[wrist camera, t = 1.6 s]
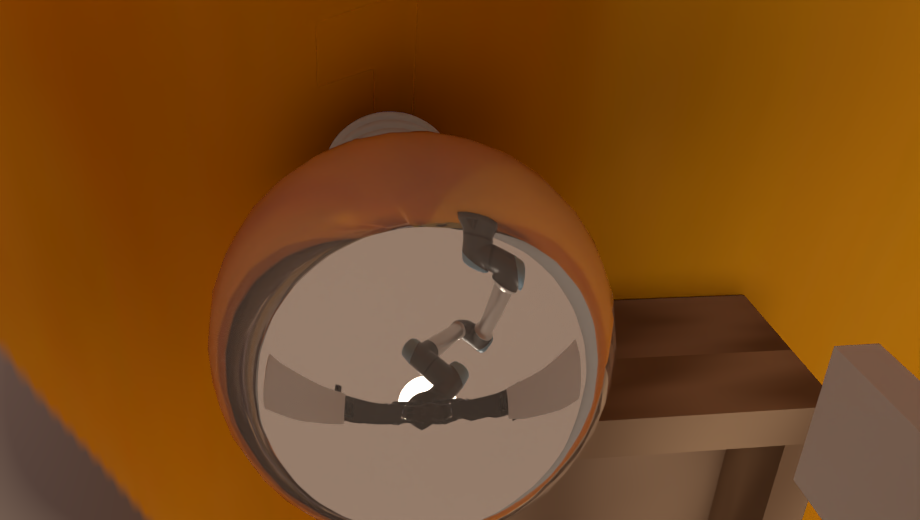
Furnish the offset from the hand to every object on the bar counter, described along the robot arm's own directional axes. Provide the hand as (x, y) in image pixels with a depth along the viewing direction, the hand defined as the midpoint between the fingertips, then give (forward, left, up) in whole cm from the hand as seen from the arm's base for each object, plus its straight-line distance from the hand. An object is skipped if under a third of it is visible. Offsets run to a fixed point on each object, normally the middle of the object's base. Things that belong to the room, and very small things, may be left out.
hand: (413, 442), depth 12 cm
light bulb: (0, 0, -11) cm, 11 cm away
